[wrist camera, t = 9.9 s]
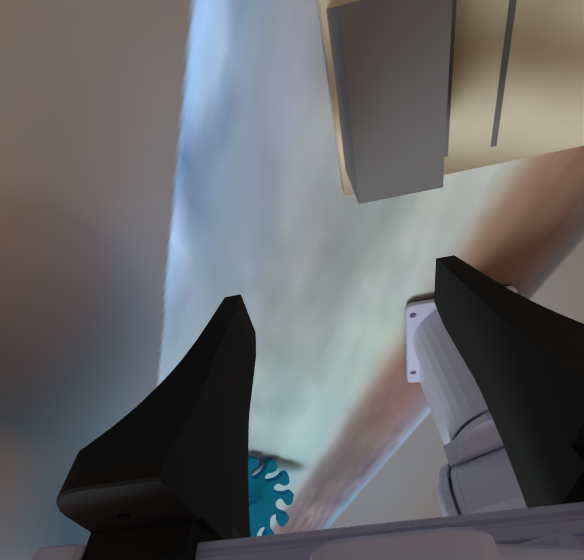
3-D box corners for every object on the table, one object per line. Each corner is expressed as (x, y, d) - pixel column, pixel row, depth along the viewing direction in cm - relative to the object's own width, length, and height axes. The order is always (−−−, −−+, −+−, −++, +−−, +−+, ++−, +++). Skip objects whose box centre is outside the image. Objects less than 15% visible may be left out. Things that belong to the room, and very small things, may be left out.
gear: (310, 482, 40) (266, 572, 38) (291, 461, 46) (251, 538, 43) (232, 440, 37) (178, 535, 35) (221, 424, 43) (174, 504, 40)
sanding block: (412, 155, 18) (442, 187, 15) (345, 169, 19) (359, 203, 15) (412, -14, 14) (453, -25, 11) (325, 9, 15) (338, 5, 11)
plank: (573, 138, 19) (589, 144, 18) (341, 187, 21) (344, 195, 20) (644, -127, 13) (672, -138, 12) (312, -34, 15) (315, -37, 14)
